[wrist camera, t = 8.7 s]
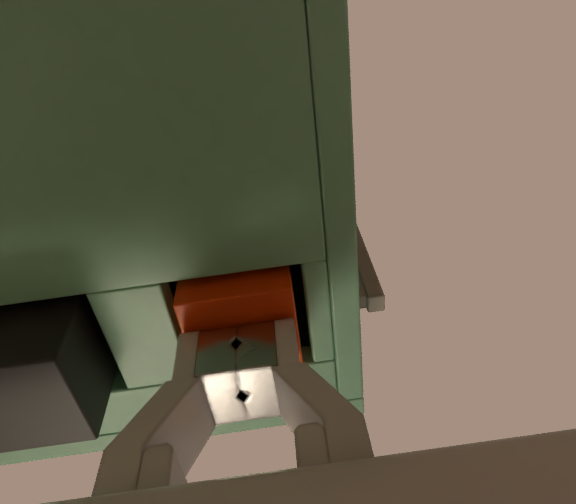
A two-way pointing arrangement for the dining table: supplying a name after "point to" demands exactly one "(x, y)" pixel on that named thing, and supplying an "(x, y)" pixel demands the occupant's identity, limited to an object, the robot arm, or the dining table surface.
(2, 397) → the timer button
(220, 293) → the button
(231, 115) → the green box
